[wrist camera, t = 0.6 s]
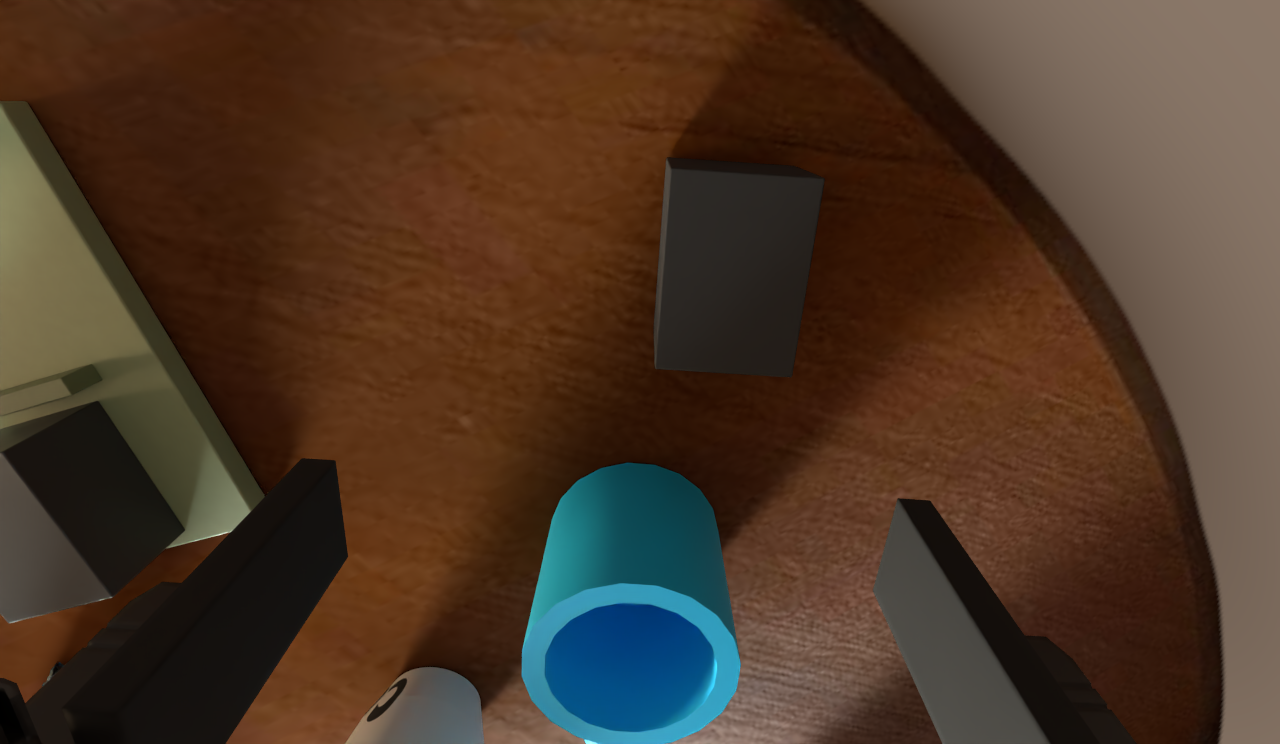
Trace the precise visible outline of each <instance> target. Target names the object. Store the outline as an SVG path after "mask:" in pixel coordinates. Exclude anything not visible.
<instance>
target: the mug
mask: <svg viewBox="0 0 1280 744" xmlns="http://www.w3.org/2000/svg"><path fill="white" fill-rule="evenodd" d="M740 667H741V663H740V657H739V651H738V645H737V639H736V633H735V628H734V622H733V616H732V610H731V604H730V598H729V592H728V586H727V580H726V574H725V568H724V562H723V556H722V550H721V544H720V538H719V532H718V528H717V523H716V519H715V515H714V510H713V508H712V506H711V505H710V503H709V502H708V500H707V499H706V497H705V496H704V495H703V493H702V492H701V490H700V489H699V488H698V487H696V486H695V485H694V484H692V483H691V482H690V481H688V480H687V479H686V478H684V477H683V476H682V475H680V474H679V473H676V472H673V471H670V470H668V469H665V468H662V467H659V466H657V465H651V464H637V463H624V464H619V465H614V466H609V467H604V468H600V469H598V470H596V471H594V472H593V473H591V474H589V475H587V476H585V477H583V478H581V479H579V480H578V481H577V482H576V483H575V484H574V485H573V486H572V487H571V488H570V489H569V490H568V491H567V492H566V493H565V494H564V495H563V496H562V498H561V499H560V502H559V504H558V506H557V509H556V511H555V513H554V516H553V518H552V522H551V526H550V530H549V535H548V539H547V544H546V548H545V552H544V557H543V561H542V565H541V570H540V574H539V579H538V583H537V587H536V592H535V596H534V600H533V605H532V609H531V614H530V618H529V622H528V627H527V631H526V635H525V640H524V644H523V649H522V678H523V681H524V683H525V685H526V688H527V690H528V693H529V695H530V697H531V700H532V701H533V702H534V704H535V705H536V706H537V707H538V708H539V709H540V710H541V711H542V712H543V713H544V714H545V716H546V717H547V718H548V719H549V720H550V721H551V722H553V723H555V724H556V725H558V726H560V727H561V728H563V729H565V730H566V731H568V732H570V733H571V734H573V735H575V736H576V737H579V738H583V739H584V741H585V743H586V744H666V743H671V742H674V741H676V740H679V739H681V738H683V737H686V736H688V735H690V734H693V733H695V732H698V731H700V730H701V729H702V728H703V727H705V726H706V725H707V724H708V723H710V722H711V721H712V720H713V719H715V718H716V717H717V716H719V715H720V714H721V713H722V712H723V710H724V709H725V707H726V706H727V704H728V702H729V701H730V699H731V698H732V696H733V695H734V693H735V692H736V689H737V683H738V678H739V672H740Z"/></svg>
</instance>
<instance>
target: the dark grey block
mask: <svg viewBox="0 0 1280 744" xmlns="http://www.w3.org/2000/svg"><path fill="white" fill-rule="evenodd" d="M824 181H825V179H824V178H823V177H821V176H818V175H816V174H813V173H811V172H808V171H806V170H803V169H801V168H798V167H796V166H789V165H774V164H759V163H744V162H729V161H714V160H700V159H685V158H670V157H668V158H666V169H665V183H664V196H663V209H662V223H661V236H660V249H659V263H658V276H657V289H656V302H655V316H654V359H655V369H665V370H681V371H697V372H713V373H729V374H745V375H761V376H777V377H792V373H793V367H794V361H795V355H796V349H797V343H798V337H799V331H800V325H801V319H802V313H803V307H804V301H805V295H806V289H807V283H808V277H809V271H810V265H811V259H812V253H813V247H814V241H815V235H816V229H817V223H818V217H819V211H820V205H821V199H822V193H823V187H824Z"/></svg>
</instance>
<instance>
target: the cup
mask: <svg viewBox="0 0 1280 744" xmlns="http://www.w3.org/2000/svg"><path fill="white" fill-rule="evenodd" d="M345 744H484V736H483V724H482V712H481V701H480V696H479V694H478V692H477V690H476V688H475V687H474V686H473V685H472V684H471V683H470V682H469V681H468V680H467V679H466V678H464V677H463V676H461V675H459V674H457V673H455V672H453V671H450V670H447V669H443V668H437V667H423V668H417V669H413V670H410V671H408V672H406V673H404V674H402V675H401V676H400V677H398V678H397V679H396V680H395V682H394V683H393V684H392V685H391V686H390V687H389V688H388V689H387V690H386V692H385V693H384V694H383V695H382V696H381V697H380V698H379V699H378V700H377V702H376V703H375V704H374V705H373V706H372V707H371V708H370V709H369V710H368V712H367V713H366V714H365V715H364V716H363V718H362V719H361V721H360V722H359V724H358V725H357V727H356V728H355V730H354V731H353V733H352V734H351V736H350V737H349V738H348V740H347V741H346V743H345Z"/></svg>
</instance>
